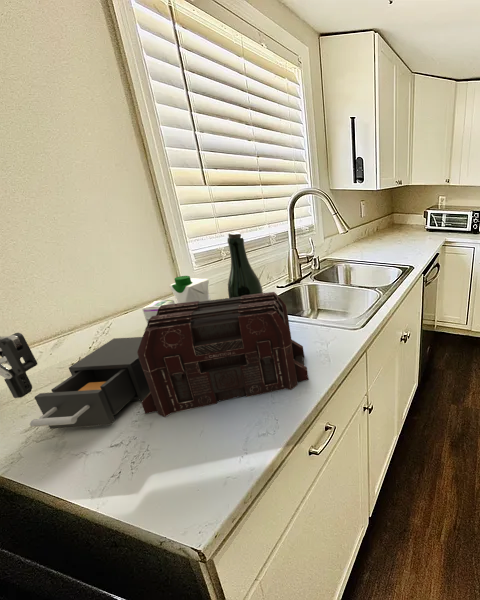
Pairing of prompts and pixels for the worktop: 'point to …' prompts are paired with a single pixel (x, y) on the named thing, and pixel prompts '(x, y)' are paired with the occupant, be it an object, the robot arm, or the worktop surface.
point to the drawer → (85, 399)
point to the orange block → (92, 386)
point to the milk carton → (190, 289)
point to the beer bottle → (241, 270)
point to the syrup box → (154, 308)
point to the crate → (218, 352)
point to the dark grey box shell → (117, 362)
